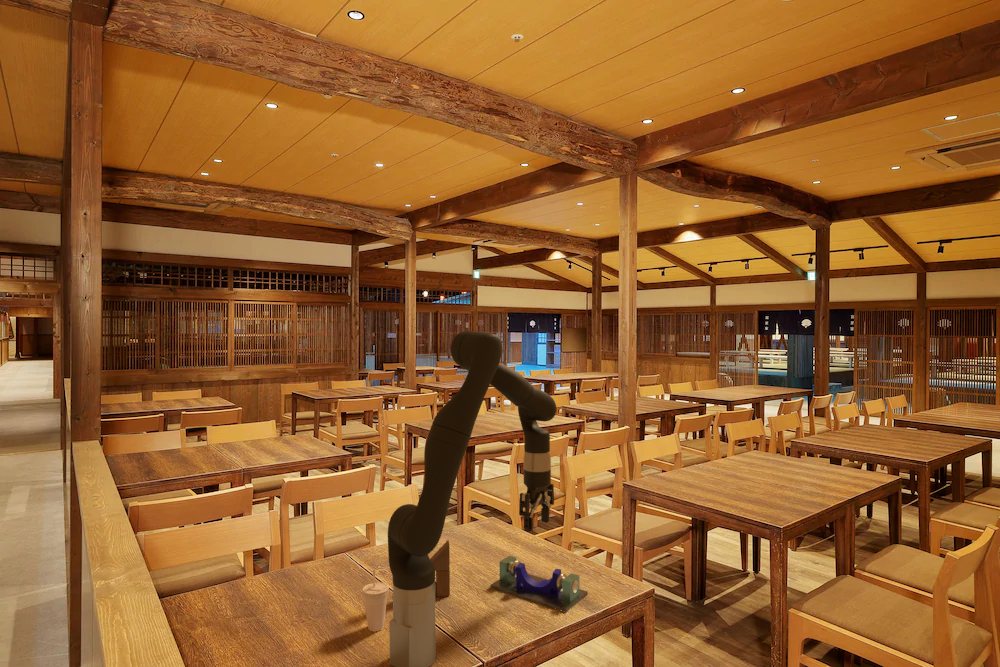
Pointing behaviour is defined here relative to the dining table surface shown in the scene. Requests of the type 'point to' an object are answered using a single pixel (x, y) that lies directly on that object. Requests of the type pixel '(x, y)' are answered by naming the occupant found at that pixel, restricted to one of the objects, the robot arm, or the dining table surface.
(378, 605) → the smoothie
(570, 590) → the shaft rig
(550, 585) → the blue curved bracket
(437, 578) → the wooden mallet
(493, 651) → the dining table surface
